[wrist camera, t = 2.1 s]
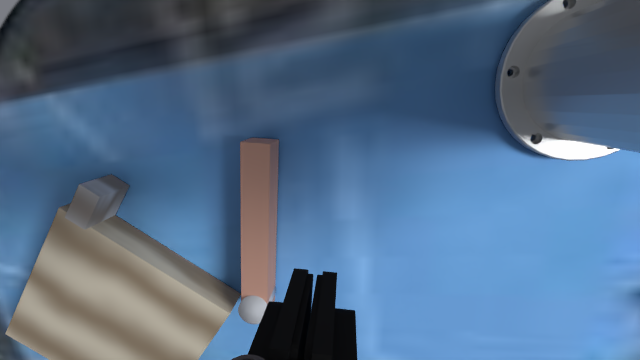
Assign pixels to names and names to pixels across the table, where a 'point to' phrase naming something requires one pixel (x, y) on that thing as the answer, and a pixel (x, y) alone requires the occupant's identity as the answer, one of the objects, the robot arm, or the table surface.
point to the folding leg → (258, 225)
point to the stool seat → (115, 289)
